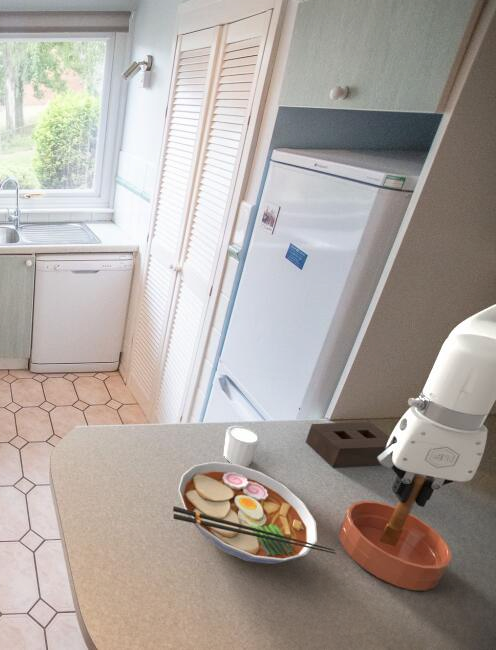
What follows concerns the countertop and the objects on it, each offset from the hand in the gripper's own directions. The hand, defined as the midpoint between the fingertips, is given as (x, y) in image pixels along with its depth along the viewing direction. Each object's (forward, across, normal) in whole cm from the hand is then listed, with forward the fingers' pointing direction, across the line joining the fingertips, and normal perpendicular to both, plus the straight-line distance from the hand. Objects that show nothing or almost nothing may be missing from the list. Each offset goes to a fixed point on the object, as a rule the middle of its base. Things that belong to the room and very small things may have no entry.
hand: (408, 498), depth 78 cm
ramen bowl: (+13, -25, -5) cm, 29 cm away
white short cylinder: (+13, -22, +18) cm, 31 cm away
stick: (+11, 0, 0) cm, 11 cm away
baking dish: (+13, 0, -1) cm, 13 cm away
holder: (+13, +3, +29) cm, 32 cm away
